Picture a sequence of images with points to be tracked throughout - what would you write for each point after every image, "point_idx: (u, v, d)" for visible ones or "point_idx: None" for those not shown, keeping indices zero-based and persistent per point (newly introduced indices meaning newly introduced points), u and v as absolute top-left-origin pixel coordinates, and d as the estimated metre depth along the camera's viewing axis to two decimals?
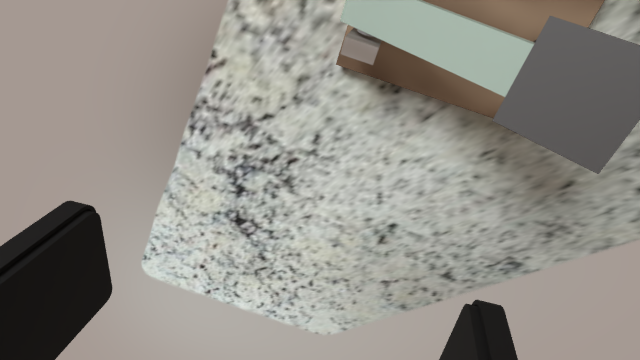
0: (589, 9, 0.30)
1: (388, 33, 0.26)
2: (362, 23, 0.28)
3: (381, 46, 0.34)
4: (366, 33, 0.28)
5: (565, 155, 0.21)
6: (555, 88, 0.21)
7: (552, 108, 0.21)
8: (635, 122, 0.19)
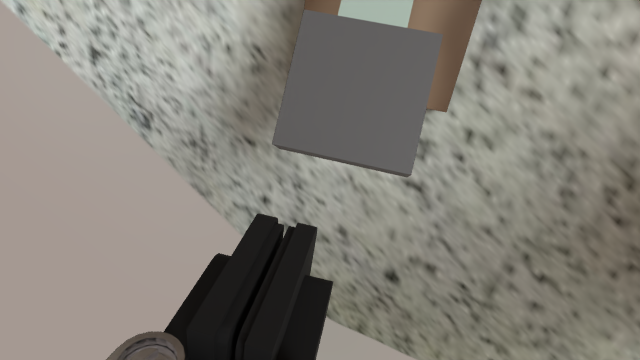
0: None
1: None
2: None
3: None
4: None
5: (283, 104, 0.17)
6: (359, 68, 0.17)
7: (335, 72, 0.17)
8: (338, 157, 0.17)
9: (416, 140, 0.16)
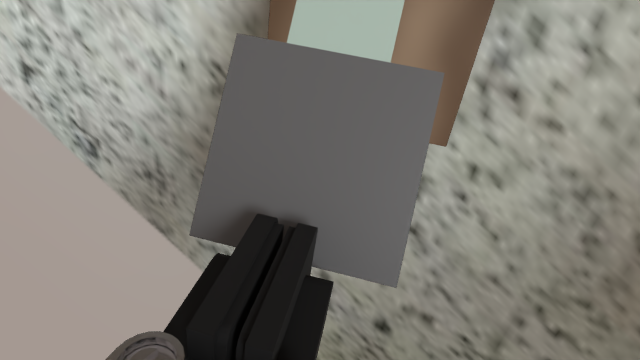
0: None
1: None
2: None
3: None
4: None
5: (206, 176, 0.11)
6: (319, 123, 0.11)
7: (283, 129, 0.11)
8: None
9: (404, 234, 0.11)
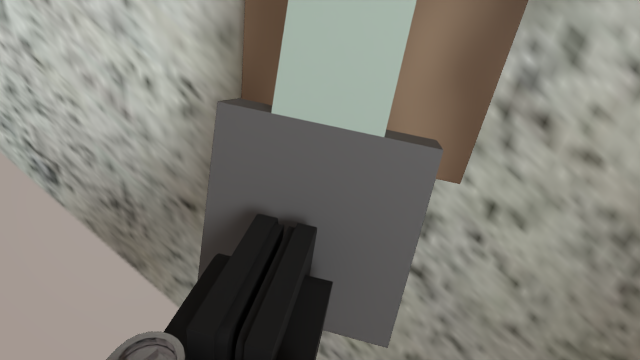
0: None
1: None
2: None
3: None
4: None
5: (204, 245, 0.12)
6: (310, 198, 0.11)
7: (274, 204, 0.11)
8: None
9: (396, 304, 0.11)
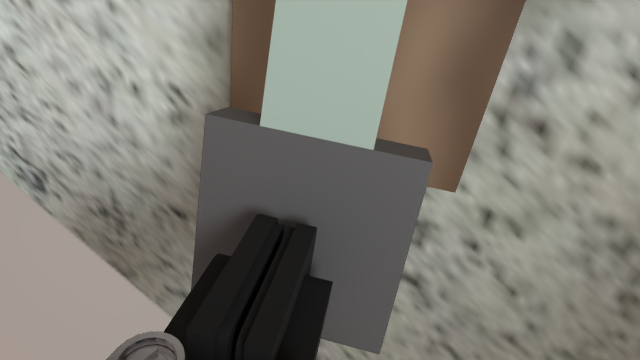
0: None
1: None
2: None
3: None
4: None
5: (197, 255, 0.12)
6: (300, 210, 0.11)
7: None
8: None
9: (387, 312, 0.11)
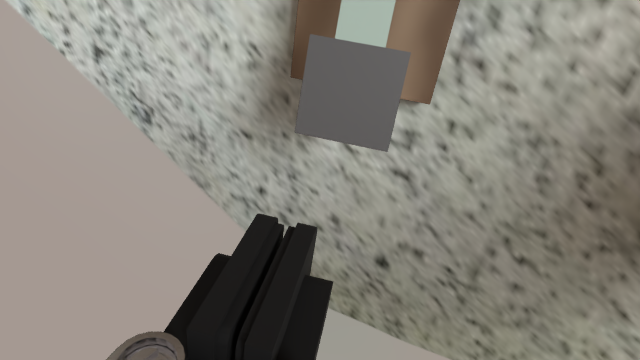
0: (409, 92, 0.33)
1: None
2: None
3: None
4: None
5: (300, 105, 0.25)
6: (351, 78, 0.24)
7: (335, 82, 0.24)
8: (339, 140, 0.25)
9: (391, 129, 0.24)
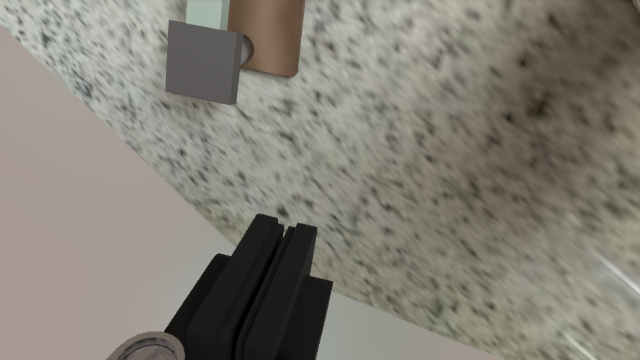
0: (276, 68, 0.42)
1: None
2: None
3: None
4: None
5: (167, 71, 0.34)
6: (199, 51, 0.33)
7: (189, 54, 0.34)
8: (196, 97, 0.35)
9: (230, 88, 0.34)
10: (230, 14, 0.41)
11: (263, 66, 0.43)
